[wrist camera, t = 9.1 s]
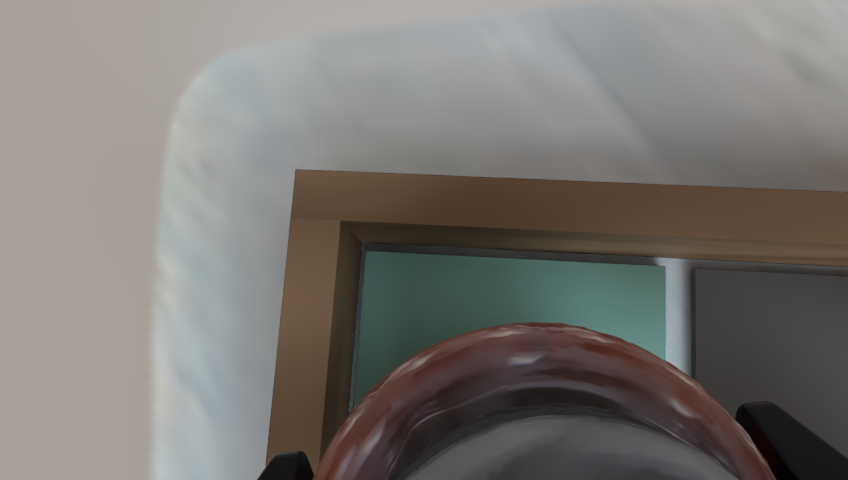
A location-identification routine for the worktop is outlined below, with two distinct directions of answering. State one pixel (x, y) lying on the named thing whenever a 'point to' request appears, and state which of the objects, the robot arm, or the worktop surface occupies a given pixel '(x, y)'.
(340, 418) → the wooden serving tray
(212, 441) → the worktop surface
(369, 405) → the supplement bottle
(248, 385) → the worktop surface
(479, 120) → the worktop surface
